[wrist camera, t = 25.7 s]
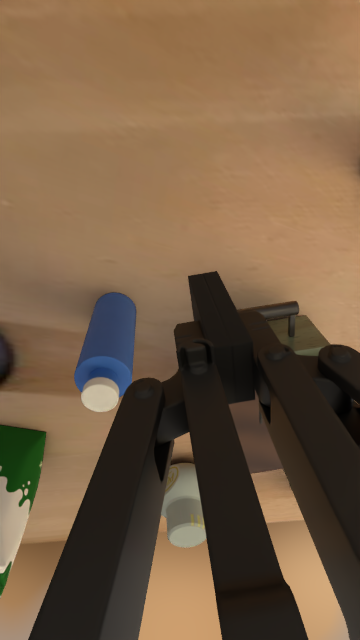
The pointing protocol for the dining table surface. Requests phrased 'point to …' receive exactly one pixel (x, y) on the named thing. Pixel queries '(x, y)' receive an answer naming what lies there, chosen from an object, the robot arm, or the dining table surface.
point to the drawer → (292, 328)
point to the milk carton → (17, 488)
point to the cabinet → (254, 437)
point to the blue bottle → (107, 353)
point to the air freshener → (183, 507)
